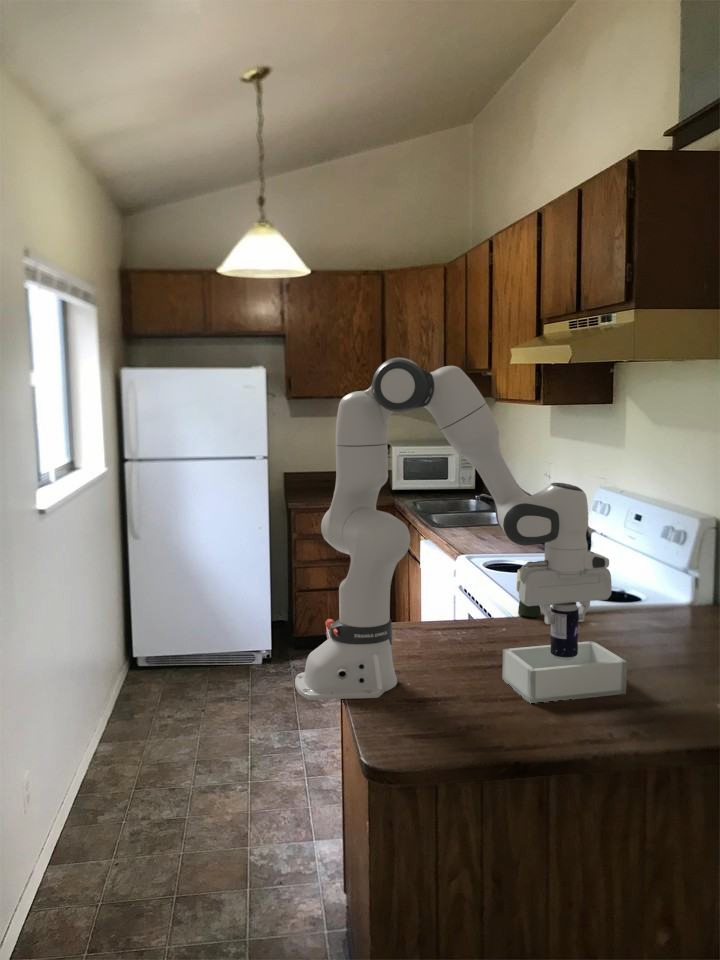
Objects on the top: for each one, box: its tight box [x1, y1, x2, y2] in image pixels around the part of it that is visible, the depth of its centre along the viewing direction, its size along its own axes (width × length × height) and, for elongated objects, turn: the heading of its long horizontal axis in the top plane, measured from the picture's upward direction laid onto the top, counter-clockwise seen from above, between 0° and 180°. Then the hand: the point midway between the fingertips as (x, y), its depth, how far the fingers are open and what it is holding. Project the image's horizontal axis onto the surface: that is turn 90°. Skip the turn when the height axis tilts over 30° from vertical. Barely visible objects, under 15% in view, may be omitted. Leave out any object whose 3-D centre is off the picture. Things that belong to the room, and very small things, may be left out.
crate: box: [501, 640, 628, 705], centre depth 172 cm, size 22×14×7 cm, turn 103°
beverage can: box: [550, 602, 579, 660], centre depth 171 cm, size 6×6×12 cm
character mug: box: [516, 568, 542, 618], centre depth 224 cm, size 11×7×13 cm, turn 129°
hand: (564, 622), depth 171 cm, fingers closed on beverage can, 6 cm apart
